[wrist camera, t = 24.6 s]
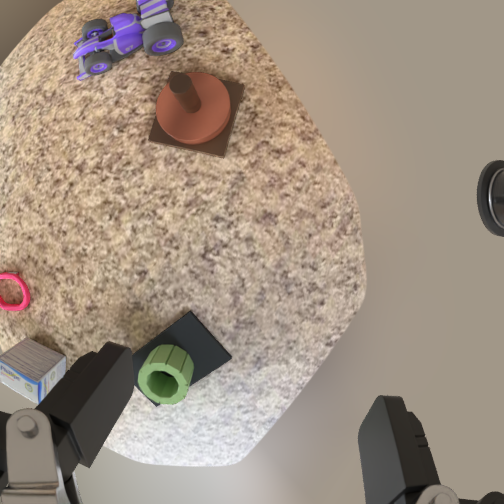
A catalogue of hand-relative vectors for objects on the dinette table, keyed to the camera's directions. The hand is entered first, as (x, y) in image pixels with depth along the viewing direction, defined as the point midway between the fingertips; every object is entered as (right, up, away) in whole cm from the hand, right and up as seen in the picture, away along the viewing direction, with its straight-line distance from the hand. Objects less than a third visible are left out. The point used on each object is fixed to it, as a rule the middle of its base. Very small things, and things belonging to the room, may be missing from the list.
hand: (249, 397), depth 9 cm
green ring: (-10, -10, +29) cm, 33 cm away
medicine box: (-32, -12, +30) cm, 45 cm away
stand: (-6, +21, +25) cm, 33 cm away
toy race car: (-17, +32, +23) cm, 43 cm away
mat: (-10, -10, +30) cm, 33 cm away
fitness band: (-36, -1, +28) cm, 46 cm away
